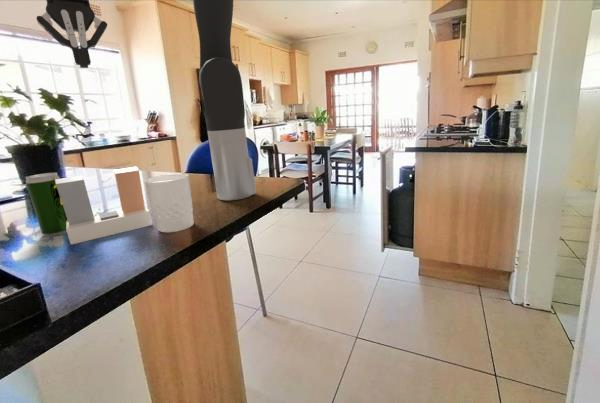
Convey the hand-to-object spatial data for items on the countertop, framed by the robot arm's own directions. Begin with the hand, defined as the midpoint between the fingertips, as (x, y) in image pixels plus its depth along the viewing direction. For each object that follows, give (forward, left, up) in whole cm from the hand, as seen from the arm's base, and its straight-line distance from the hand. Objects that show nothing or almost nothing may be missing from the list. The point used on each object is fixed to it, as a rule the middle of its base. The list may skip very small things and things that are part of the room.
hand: (84, 67), depth 69 cm
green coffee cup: (+12, +9, -33) cm, 36 cm away
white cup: (-8, +25, -33) cm, 42 cm away
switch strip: (+3, +17, -33) cm, 37 cm away
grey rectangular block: (+8, +17, -30) cm, 35 cm away
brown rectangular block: (-2, +17, -30) cm, 34 cm away
